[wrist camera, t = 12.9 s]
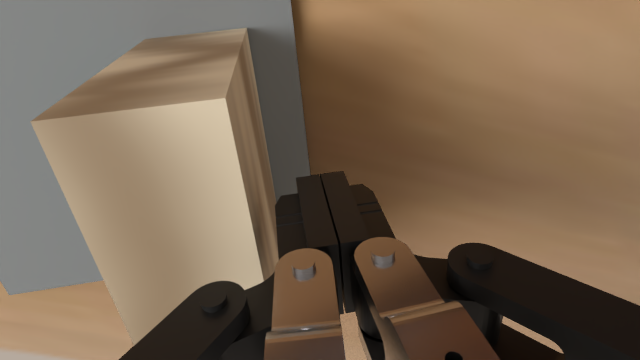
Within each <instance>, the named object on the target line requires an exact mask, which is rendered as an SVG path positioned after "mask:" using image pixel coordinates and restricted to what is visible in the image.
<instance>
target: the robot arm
mask: <svg viewBox="0 0 640 360" xmlns="http://www.w3.org/2000/svg"><path fill="white" fill-rule="evenodd" d="M296 185H297V192H298V193H296V194H289V195H282V196H280V198H279V200H278V201H277V203H276V205H275V216H276V229H277V243H278V257H279V261H278V262H277V264H276V266H275V272H274V273H273V274H272V275H271V276H270V277H269V278H268V279H266V280H265V281H263V282H262V283H260V284H258V285H256V286H253V287H251V288H248V289H246V290H244V289H243V288H242V287H241V286H240V285H239V284H237V283H235V282H231V281H216V282H211V283H208V284H206V285H204V286H202V287H200V288H198V289H197V290H195V291H194V292H193V293H192V294H191V295H189V296H188V297H187V298H186V299H185V300H184V301H183V302H182V303H181V304H180V305H178V306H177V307H176V308H175V309H174V310H173V311H172V312H171V313H170V314H169V315H167V316H166V317H165V318H164V319H163V320H162V321H161V322H160V323H159V324H158V325H156V326H155V327H154V328H153V329H152V330H151V331H150V332H149V333H148V334H146V335H145V336H144V337H143V338H142V339H141V340H140V341H139V342H138V343H137V344H135V345H134V346H133V347H132V348H131V349H130V350H129V351H128V352H127V353H126V354H124V355H123V356H122V357H121V358H120V359H119V360H346V358H345V350H344V343H343V335H342V328H341V323H340V314H344V310H343V304H344V308H345V312H346V313H350V312H356V316H357V320H358V332H359V338H360V341H361V344H362V347H363V350H364V352H365V355H366V358H367V360H640V306H639V305H636V304H634V303H631V302H629V301H626V300H624V299H622V298H619V297H617V296H614V295H612V294H609V293H607V292H604V291H602V290H599V289H597V288H594V287H592V286H589V285H587V284H584V283H582V282H579V281H577V280H574V279H572V278H569V277H567V276H564V275H562V274H559V273H557V272H554V271H552V270H550V269H547V268H545V267H542V266H540V265H537V264H535V263H532V262H530V261H527V260H525V259H522V258H520V257H517V256H515V255H512V254H510V253H507V252H505V251H502V250H500V249H497V248H495V247H492V246H489V245H486V244H481V243H465V244H461V245H458V246H456V247H454V248H453V249H452V250H451V251H450V252H449V255H448V259H439V258H427V257H421V256H417V255H414V254H413V253H412V251H411V250H410V248H409V247H408V246H407V245H406V244H405V243H403V242H401V241H399V240H397V239H396V238H395V236H394V234H393V232H392V230H391V228H390V226H389V224H388V222H387V219H386V217H385V215H384V213H383V211H382V209H381V207H380V205H379V203H378V201H377V199H376V197H375V195H374V193H373V191H371V190H370V189H369V188H367V187H366V186H364V185H363V184H359V185H352V186H349V184H348V181H347V179H346V176H345V174H344V171H339V172H332V173H324V174H320V177H319V174H318V175H311V176H303V177H296ZM503 316H505V317H507V318H509V319H511V320H513V321H515V322H517V323H519V324H520V325H522V326H524V327H526V328H528V329H530V330H532V331H534V332H536V333H538V334H540V335H542V336H544V337H546V338H548V339H550V340H552V341H553V342H555V343H556V344H557V345H558V346H559V347H560V348H561V349H562V351H563V353H564V354H562V353H559V352H557V351H555V350H553V349H551V348H549V347H547V346H545V345H543V344H541V343H540V342H538V341H536V340H534V339H532V338H530V337H528V336H526V335H524V334H522V333H520V332H518V331H516V330H514V329H512V328H510V327H508V326H507V325H505V324H503V323H502V319H503Z"/></svg>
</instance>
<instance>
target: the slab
mask: <svg viewBox="0 0 640 360" xmlns="http://www.w3.org/2000/svg"><path fill="white" fill-rule="evenodd" d="M30 122H31V124H32V126H33V129H34V131H35V133H36V135H37V137H38V139H39V142H40V144H41V146H42V148H43V150H44V152H45V155H46V157H47V159H48V161H49V163H50V165H51V168H52V170H53V172H54V174H55V176H56V178H57V180H58V183H59V185H60V187H61V189H62V191H63V193H64V196H65V198H66V200H67V202H68V204H69V206H70V209H71V211H72V213H73V215H74V217H75V219H76V222H77V224H78V226H79V228H80V230H81V232H82V234H83V237H84V239H85V241H86V243H87V245H88V247H89V250H90V252H91V254H92V256H93V258H94V260H95V263H96V265H97V267H98V269H99V271H100V273H101V276H102V278H103V280H104V282H105V284H106V286H107V288H108V291H109V293H110V295H111V297H112V299H113V301H114V304H115V306H116V308H117V310H118V312H119V314H120V317H121V319H122V321H123V323H124V325H125V327H126V330H127V332H128V334H129V336H130V338H131V340H132V342H133V345H135V344H137V343H138V342H139V341H140V340H141V339H142V338H143V337H144V336H145V335H146V334H148V333H149V332H150V331H151V330H152V329H153V328H154V327H155V326H156V325H158V324H159V323H160V322H161V321H162V320H163V319H164V318H165V317H166V316H167V315H169V314H170V313H171V312H172V311H173V310H174V309H175V308H176V307H177V306H178V305H180V304H181V303H182V302H183V301H184V300H185V299H186V298H187V297H188V296H189V295H191V294H192V293H193V292H194V291H195V290H197V289H198V288H200V287H202V286H204V285H206V284H208V283H211V282H216V281H231V282H235V283H237V284H239V285H240V286H241V287H242V288H243V289H244V290H246V289H248V288H251V287H253V286H256V285H258V284H260V283H262V282H263V281H265V280H266V279H268V278H269V277H270V276H271V275H272V274H273V273H274V272H275V266H276V264H277V262H278V261H279V257H278V243H277V229H276V216H275V205H276V198H275V192H274V186H273V180H272V174H271V168H270V162H269V157H268V151H267V145H266V139H265V133H264V127H263V121H262V115H261V109H260V103H259V97H258V91H257V86H256V80H255V74H254V68H253V62H252V56H251V50H250V44H249V38H248V32H247V28H239V29H230V30H221V31H212V32H203V33H195V34H186V35H177V36H168V37H159V38H150V39H145V40H143V41H142V42H140V43H139V44H138V45H136V46H135V47H133V48H132V49H131V50H129V51H128V52H126V53H125V54H124V55H122V56H121V57H119V58H118V59H117V60H115V61H114V62H113V63H111V64H110V65H108V66H107V67H106V68H104V69H103V70H101V71H100V72H99V73H97V74H96V75H94V76H93V77H92V78H90V79H89V80H87V81H86V82H85V83H83V84H82V85H80V86H79V87H78V88H76V89H75V90H73V91H72V92H71V93H69V94H68V95H67V96H65V97H64V98H62V99H61V100H60V101H58V102H57V103H55V104H54V105H53V106H51V107H50V108H48V109H47V110H46V111H44V112H43V113H41V114H40V115H39V116H37V117H36V118H34V119H33V120H32V121H30Z"/></svg>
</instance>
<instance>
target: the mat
mask: <svg viewBox="0 0 640 360" xmlns="http://www.w3.org/2000/svg"><path fill="white" fill-rule="evenodd" d="M239 28H247V32H248V38H249V44H250V50H251V56H252V62H253V68H254V74H255V80H256V86H257V91H258V97H259V103H260V109H261V115H262V121H263V127H264V133H265V139H266V145H267V151H268V157H269V162H270V168H271V174H272V180H273V186H274V192H275V198H276V203H277V201H278V200H279V198H280V196H282V195H289V194H296V193H298V192H297V185H296V177H303V176H311V175H310V166H309V157H308V148H307V139H306V131H305V122H304V113H303V104H302V96H301V87H300V78H299V69H298V60H297V52H296V43H295V34H294V25H293V17H292V8H291V0H0V281H1V283H2V284H3V286H4V288H5V289H6V291H7V292H8V294H9V295H13V294H20V293H26V292H32V291H38V290H45V289H51V288H57V287H64V286H70V285H76V284H83V283H89V282H95V281H101V280H103V278H102V276H101V273H100V271H99V269H98V267H97V265H96V263H95V260H94V258H93V256H92V254H91V252H90V250H89V247H88V245H87V243H86V241H85V239H84V237H83V234H82V232H81V230H80V228H79V226H78V224H77V222H76V219H75V217H74V215H73V213H72V211H71V209H70V206H69V204H68V202H67V200H66V198H65V196H64V193H63V191H62V189H61V187H60V185H59V183H58V180H57V178H56V176H55V174H54V172H53V170H52V168H51V165H50V163H49V161H48V159H47V157H46V155H45V152H44V150H43V148H42V146H41V144H40V142H39V139H38V137H37V135H36V133H35V131H34V129H33V126H32V124H31V122H30V121H32V120H33V119H34V118H36V117H37V116H39V115H40V114H41V113H43V112H44V111H46V110H47V109H48V108H50V107H51V106H53V105H54V104H55V103H57V102H58V101H60V100H61V99H62V98H64V97H65V96H67V95H68V94H69V93H71V92H72V91H73V90H75V89H76V88H78V87H79V86H80V85H82V84H83V83H85V82H86V81H87V80H89V79H90V78H92V77H93V76H94V75H96V74H97V73H99V72H100V71H101V70H103V69H104V68H106V67H107V66H108V65H110V64H111V63H113V62H114V61H115V60H117V59H118V58H119V57H121V56H122V55H124V54H125V53H126V52H128V51H129V50H131V49H132V48H133V47H135V46H136V45H138V44H139V43H140V42H142V41H143V40H145V39H150V38H159V37H168V36H177V35H186V34H195V33H203V32H212V31H221V30H230V29H239Z"/></svg>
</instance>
